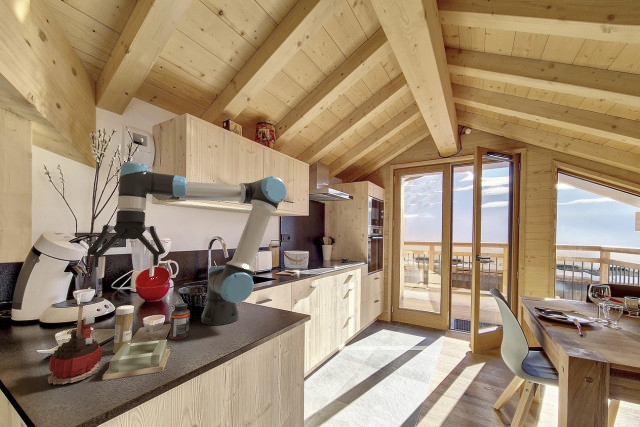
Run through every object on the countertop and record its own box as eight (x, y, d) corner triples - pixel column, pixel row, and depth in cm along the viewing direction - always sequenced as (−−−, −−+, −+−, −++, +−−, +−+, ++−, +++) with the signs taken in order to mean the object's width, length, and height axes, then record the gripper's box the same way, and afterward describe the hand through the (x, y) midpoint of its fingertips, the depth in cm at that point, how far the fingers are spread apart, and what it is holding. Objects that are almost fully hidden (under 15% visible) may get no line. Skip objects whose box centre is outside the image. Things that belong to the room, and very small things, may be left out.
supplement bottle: (170, 335, 95) (172, 303, 96) (189, 333, 97) (190, 301, 98) (168, 341, 89) (170, 307, 90) (187, 338, 92) (189, 305, 93)
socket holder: (170, 352, 81) (170, 338, 81) (162, 371, 70) (163, 354, 70) (119, 359, 76) (120, 344, 76) (102, 380, 65) (104, 362, 65)
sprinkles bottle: (130, 352, 81) (133, 307, 82) (111, 355, 78) (115, 309, 79) (131, 346, 84) (134, 304, 86) (113, 350, 82) (116, 306, 83)
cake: (45, 376, 66) (53, 303, 68) (93, 363, 73) (99, 297, 75) (50, 393, 59) (58, 311, 61) (103, 376, 67) (109, 304, 68)
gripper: (176, 213, 93) (172, 273, 91) (89, 209, 84) (83, 276, 82) (173, 211, 86) (169, 276, 84) (77, 207, 77) (70, 280, 75)
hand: (126, 277), depth 83 cm, fingers open, 13 cm apart
